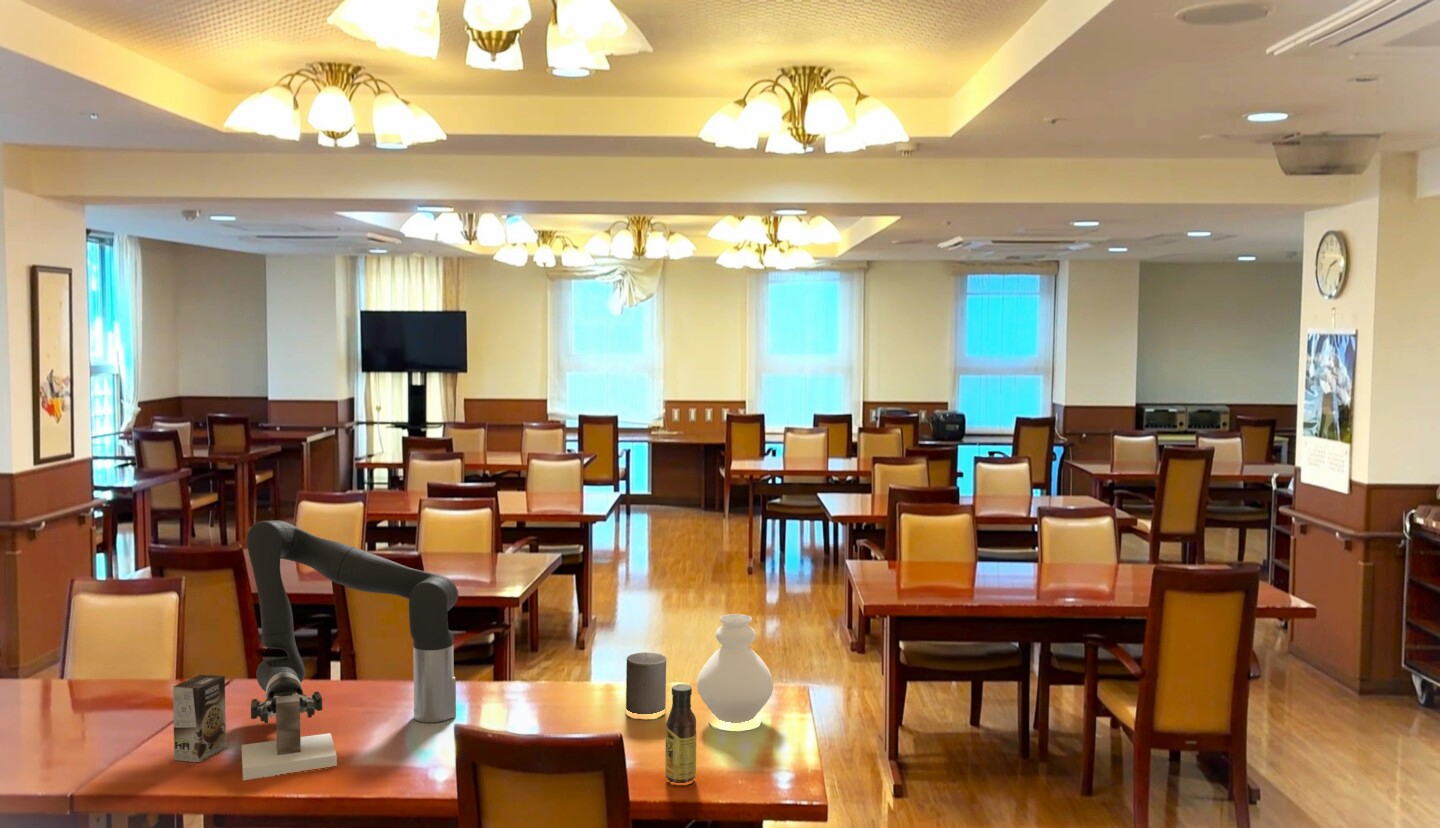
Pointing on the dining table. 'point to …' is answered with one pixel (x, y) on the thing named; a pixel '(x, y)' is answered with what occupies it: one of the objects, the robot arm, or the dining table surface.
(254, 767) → the base
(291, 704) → the column
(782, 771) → the dining table surface
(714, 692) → the decorative vase
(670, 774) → the sauce bottle
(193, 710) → the coffee box
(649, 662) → the pillar candle
